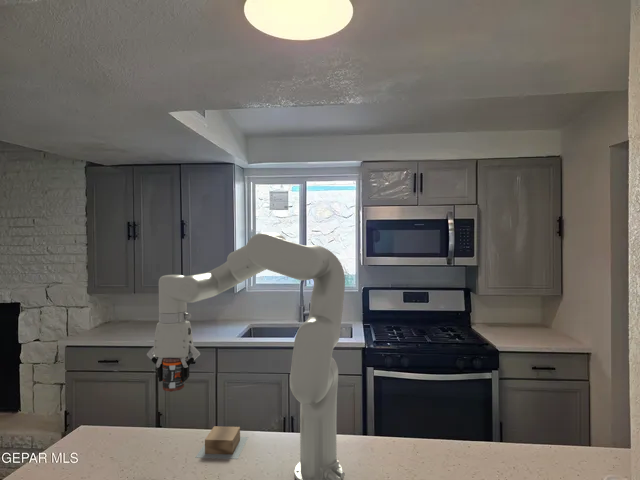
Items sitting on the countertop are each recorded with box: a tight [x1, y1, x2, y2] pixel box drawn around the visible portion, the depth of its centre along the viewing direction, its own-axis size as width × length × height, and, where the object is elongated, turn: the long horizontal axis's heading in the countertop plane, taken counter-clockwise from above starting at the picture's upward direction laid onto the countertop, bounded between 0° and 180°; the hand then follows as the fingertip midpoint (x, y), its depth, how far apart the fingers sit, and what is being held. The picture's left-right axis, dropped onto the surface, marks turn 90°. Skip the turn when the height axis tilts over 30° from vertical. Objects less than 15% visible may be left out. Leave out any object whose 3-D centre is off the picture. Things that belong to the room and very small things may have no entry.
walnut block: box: [204, 425, 241, 455], centre depth 115 cm, size 8×8×4 cm
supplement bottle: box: [162, 358, 185, 393], centre depth 114 cm, size 6×6×11 cm
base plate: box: [195, 436, 249, 460], centre depth 115 cm, size 12×12×1 cm
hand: (173, 379), depth 114 cm, fingers closed on supplement bottle, 6 cm apart
